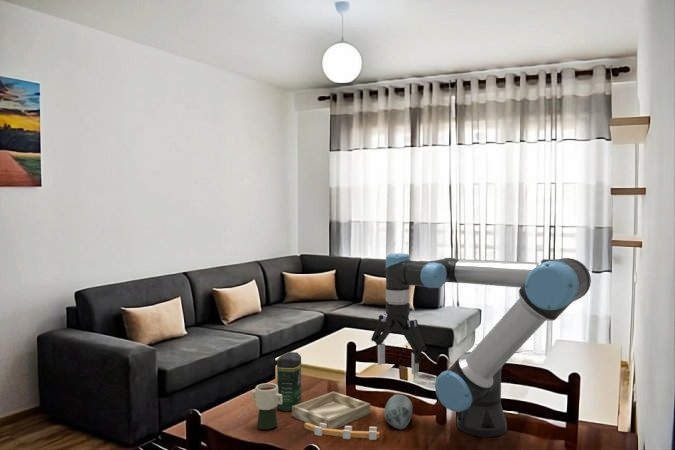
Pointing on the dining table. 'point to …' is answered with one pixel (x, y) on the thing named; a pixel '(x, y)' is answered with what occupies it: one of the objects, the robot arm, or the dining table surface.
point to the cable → (339, 432)
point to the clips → (346, 431)
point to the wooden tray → (331, 410)
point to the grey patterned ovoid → (398, 411)
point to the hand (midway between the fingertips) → (397, 368)
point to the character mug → (267, 404)
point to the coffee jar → (289, 380)
